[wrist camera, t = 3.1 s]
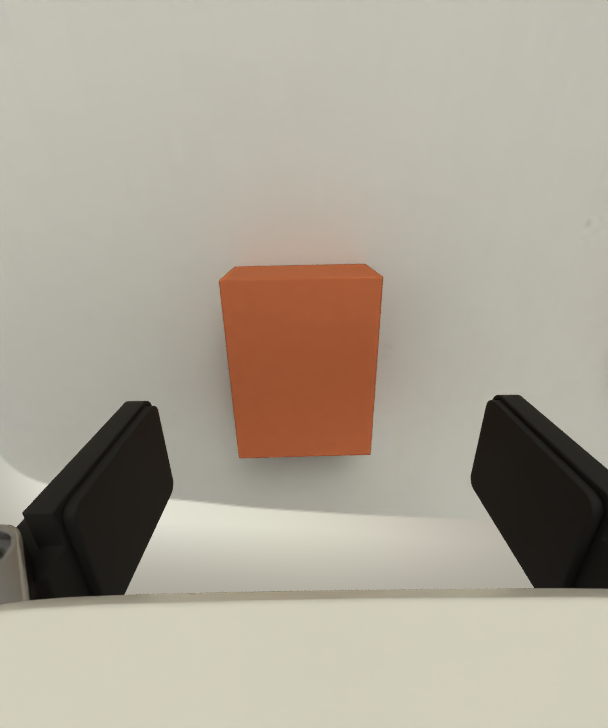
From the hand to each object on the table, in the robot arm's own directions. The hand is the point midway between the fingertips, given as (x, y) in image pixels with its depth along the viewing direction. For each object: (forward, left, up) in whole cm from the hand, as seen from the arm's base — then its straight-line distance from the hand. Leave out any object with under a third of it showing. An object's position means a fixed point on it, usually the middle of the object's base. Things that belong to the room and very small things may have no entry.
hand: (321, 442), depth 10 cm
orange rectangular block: (0, 0, -8) cm, 8 cm away
